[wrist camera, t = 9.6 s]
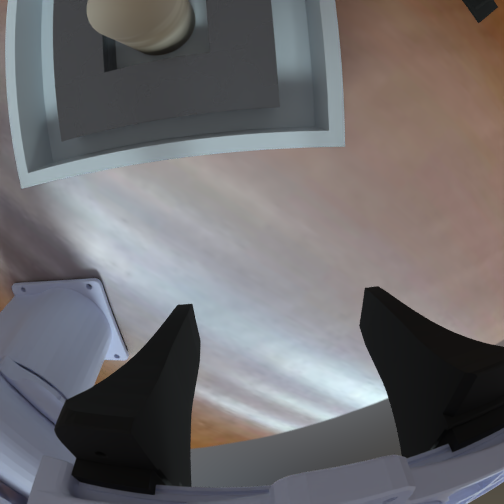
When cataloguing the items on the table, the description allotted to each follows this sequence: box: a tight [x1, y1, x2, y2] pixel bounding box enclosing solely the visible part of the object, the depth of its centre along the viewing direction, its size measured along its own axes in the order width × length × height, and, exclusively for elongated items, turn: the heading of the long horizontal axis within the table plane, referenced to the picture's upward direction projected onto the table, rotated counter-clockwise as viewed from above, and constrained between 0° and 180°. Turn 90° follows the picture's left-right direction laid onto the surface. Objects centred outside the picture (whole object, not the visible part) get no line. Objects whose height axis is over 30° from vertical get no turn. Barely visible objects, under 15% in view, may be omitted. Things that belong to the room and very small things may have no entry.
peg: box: [87, 0, 196, 55], centre depth 11 cm, size 4×4×6 cm
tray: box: [5, 0, 345, 189], centre depth 13 cm, size 18×16×4 cm
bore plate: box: [53, 0, 280, 141], centre depth 13 cm, size 12×12×2 cm
